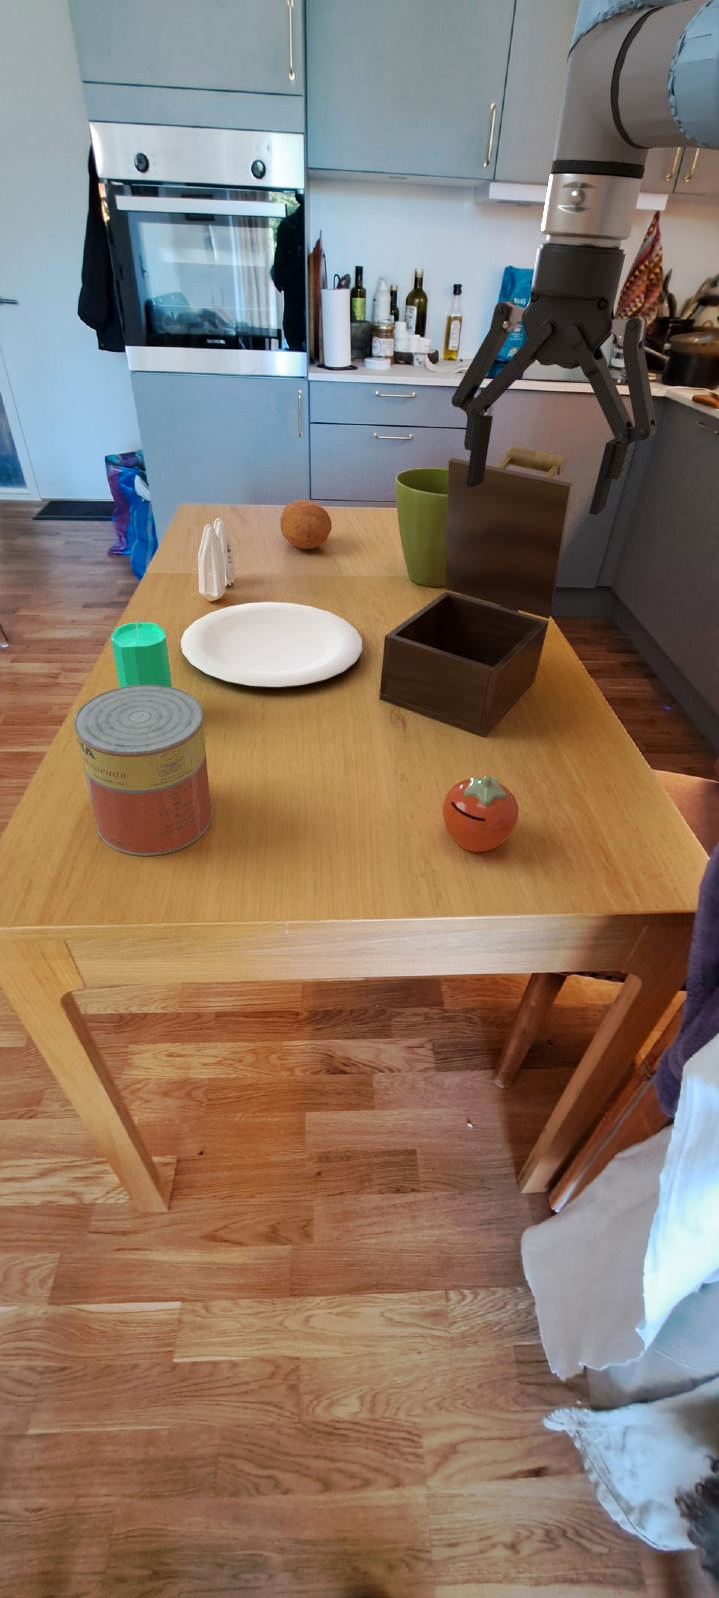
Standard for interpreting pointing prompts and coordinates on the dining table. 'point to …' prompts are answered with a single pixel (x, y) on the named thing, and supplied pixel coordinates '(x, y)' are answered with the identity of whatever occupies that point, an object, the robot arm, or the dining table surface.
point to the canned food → (146, 768)
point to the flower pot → (423, 523)
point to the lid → (507, 531)
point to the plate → (271, 645)
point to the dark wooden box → (462, 661)
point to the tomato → (480, 813)
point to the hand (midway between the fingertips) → (533, 497)
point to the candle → (141, 655)
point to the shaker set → (215, 561)
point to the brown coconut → (305, 524)
